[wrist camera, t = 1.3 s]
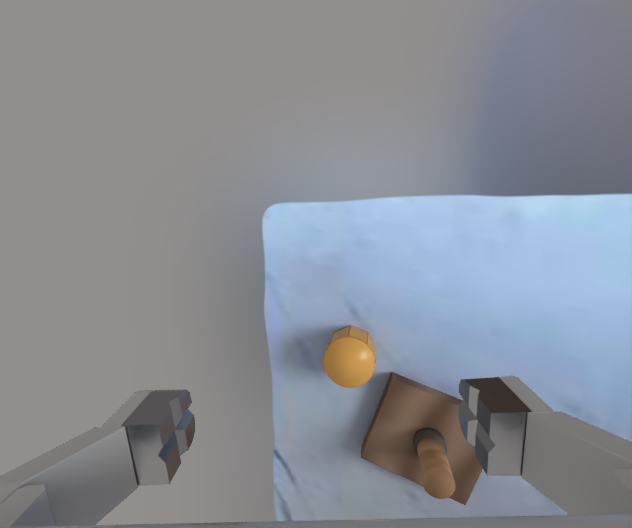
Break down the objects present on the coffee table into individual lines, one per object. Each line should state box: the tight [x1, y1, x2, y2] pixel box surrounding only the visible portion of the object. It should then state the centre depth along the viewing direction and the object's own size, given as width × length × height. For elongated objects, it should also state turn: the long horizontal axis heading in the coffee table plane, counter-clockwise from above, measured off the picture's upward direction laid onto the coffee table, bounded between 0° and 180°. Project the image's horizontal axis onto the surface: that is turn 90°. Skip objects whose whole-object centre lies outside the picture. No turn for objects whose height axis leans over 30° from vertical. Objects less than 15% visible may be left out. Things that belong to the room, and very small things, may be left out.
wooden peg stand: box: [361, 372, 483, 505], centre depth 37 cm, size 14×12×9 cm
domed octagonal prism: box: [324, 326, 376, 388], centre depth 40 cm, size 6×6×5 cm
